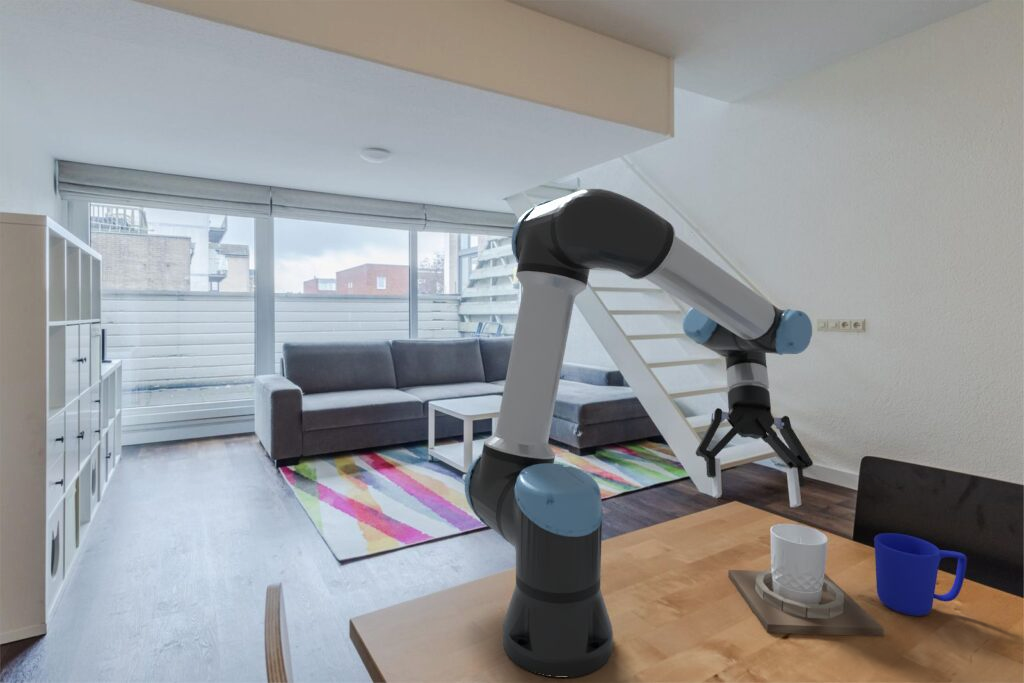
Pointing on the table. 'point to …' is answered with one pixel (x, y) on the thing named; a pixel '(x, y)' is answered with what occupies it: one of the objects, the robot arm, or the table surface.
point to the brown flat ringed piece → (803, 608)
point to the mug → (912, 573)
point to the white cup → (798, 562)
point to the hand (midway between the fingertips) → (756, 501)
